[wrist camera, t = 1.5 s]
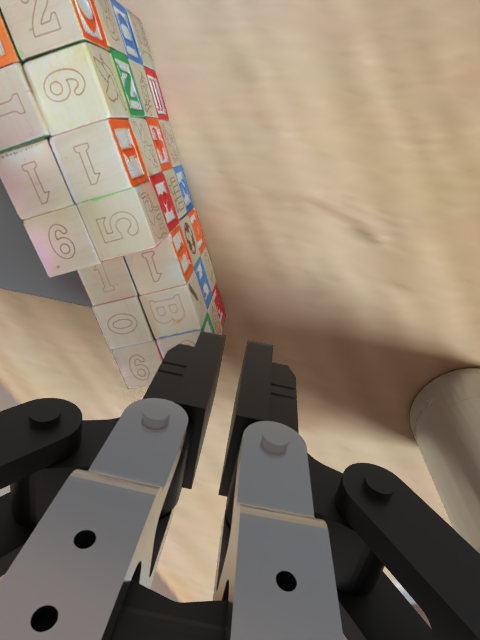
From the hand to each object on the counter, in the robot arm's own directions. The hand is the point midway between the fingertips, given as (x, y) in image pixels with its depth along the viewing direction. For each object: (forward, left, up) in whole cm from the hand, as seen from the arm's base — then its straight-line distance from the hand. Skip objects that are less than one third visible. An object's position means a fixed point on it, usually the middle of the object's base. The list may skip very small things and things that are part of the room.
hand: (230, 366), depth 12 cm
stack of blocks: (+8, 0, -22) cm, 24 cm away
